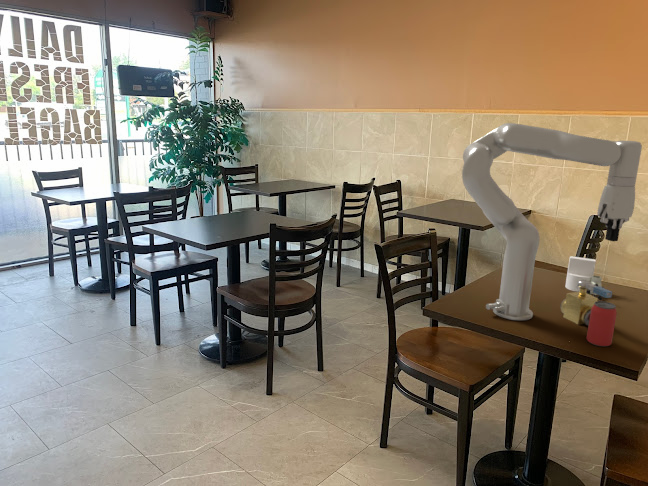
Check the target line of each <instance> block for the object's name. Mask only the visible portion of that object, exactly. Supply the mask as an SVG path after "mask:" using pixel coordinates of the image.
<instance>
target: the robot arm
mask: <svg viewBox="0 0 648 486" xmlns="http://www.w3.org/2000/svg"><path fill="white" fill-rule="evenodd" d="M642 147H643V146H642V143H641V142H639V141H636V140H635V141H634V140H617V141H615V140H609V139H602V138H596V137H589V136H583V135H579V134H574V133H570V132H566V131H562V130H558V129H552V128H544V127H539V126H532V125H529V124H519V123H514V122H513V123H512V122H506V123H503V124H501V125H499V126H498V127H496V128H494V129H493V130H491V131H489V132H488V133H487V134H485V135H483V136H481V137H480V138H478V139H476V140H475V141H473V142H471V143H470V144H469V145H467V146H466V147H465V149H464V150H463V154H462V160H463V166H462V170H461V179H462V182H463V183H462V184H463V186H464V188H465V190H466V192H467V193H468V195H470V197H471V198H472V199H473V201H474V202H475V204H476V205H477V206H478V207H479V208H480V209H481V210H482V213H483V215H484V217H486V219H488V221H489V222H490V223H491V224H492V225H493V227H494V228H495V229H496V230H497V231H498V232H499V234H500V235H501V236H502V237H503V238H504V240H505V241H506V246H505V251H504V256H503V260H502V261H503V262H502V269H501V270H502V272H501V281H500V287H499V298H497V299H496V300H495V302H493V303H486V305H485V309H487V310H492V312H493V313H494V314H495V315H496V316H497V317H500V318H502V319H507V320H511V321H528V320H530V319H532V318H533V316H534V312H533V311H532V310H531V309H530V308H529V307H530V302H531V301H530V300H531V294H532V288H533V287H532V286H533V277H534V271H535V270H534V268H535V262H536V257H537V253H538V249H539V246H540V233H539V230H538V229H537V227H536V226H535V225H534V224H533V223H532V222H531V221H529V219H527V218H526V216H525V215H524V214H523V213H522V212H521V211H520V209H518V207H517V206H516V205H515V203H514V201H513V199H511V197H509V196H508V195H507V194H506V193H505V192H504V190H502V189H501V188H500V186H499V185H498V184H497V182H496V181H495V179H493V177H492V175H491V167H492V165H493V162H494V160H495V159H497V158H499V157H500V156H502V155H503V154H505V153H507V152H511V153H518V154H522V155H523V154H524V155H530V156H537V157H541V158H547V159H552V160H553V159H554V160H562V161H570V162H576V163H581V164H582V163H583V164H588V165H593V166H599V167H609V169H608V176H607V181H606V185H604V188H603V190H602V192H601V196H600V200H599V202H598V203H599V204H598V208H597V214H596V215H597V217H599V218H600V219H599V221H600V222H601V223H604V224H605V227H606V233H605V238H604V240H607V241H610V242H618V241H619V235H620V229H622V226H623V225H624V223H626V222H629V221H630V218H631V217H632V216H633V215H634V214H633V213H634V209H635V204H636V203H635V200H636V182H637V175H638V171H639V165H640V159H641V155H642V150H643V149H642Z"/></svg>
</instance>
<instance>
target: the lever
mask: <svg viewBox="0 0 648 486" xmlns="http://www.w3.org/2000/svg"><path fill="white" fill-rule="evenodd" d="M577 286H578V287H581V288H586V289H588V290H591V291H593V293H595V294H598V295H597V296H599V295H600V296H601V297H602V298H607V299H608V298H610V299H611V298H612V296H613V291H611V290H610V289H607V288H605V287H604V288H602V287H603V286H601V287H600V286H595V285H593V284H591V282H589V281H586V280H579V281H578V285H577Z"/></svg>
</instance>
